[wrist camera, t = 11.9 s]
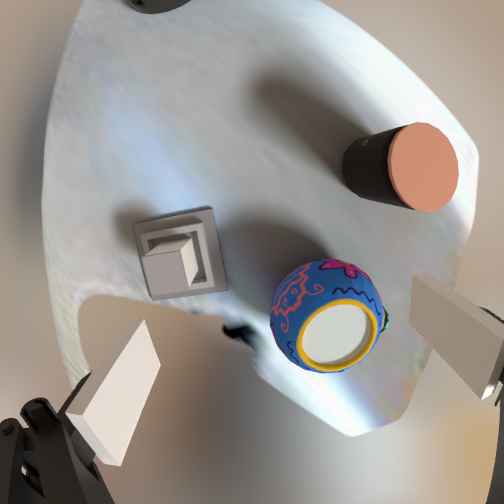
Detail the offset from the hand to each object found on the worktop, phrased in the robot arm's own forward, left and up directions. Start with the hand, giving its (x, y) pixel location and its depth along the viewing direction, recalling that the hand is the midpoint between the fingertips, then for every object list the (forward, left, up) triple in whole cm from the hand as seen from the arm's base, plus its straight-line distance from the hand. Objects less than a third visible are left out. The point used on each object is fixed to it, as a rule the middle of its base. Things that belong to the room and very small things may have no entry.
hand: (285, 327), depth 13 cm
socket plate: (+4, -14, -35) cm, 38 cm away
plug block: (+4, -14, -34) cm, 37 cm away
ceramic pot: (+15, +8, -35) cm, 39 cm away
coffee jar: (-6, +20, -35) cm, 41 cm away
